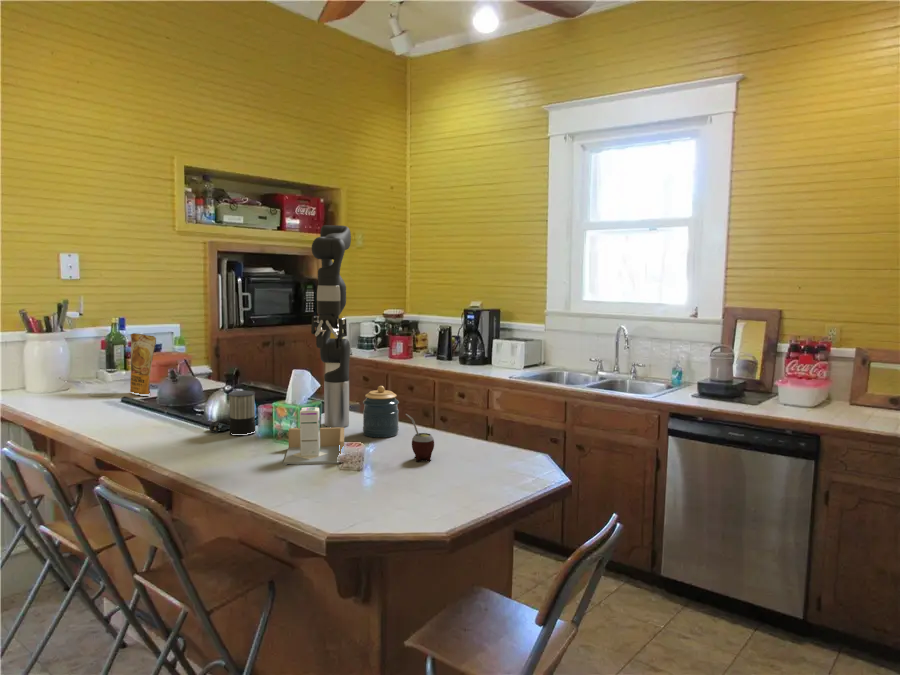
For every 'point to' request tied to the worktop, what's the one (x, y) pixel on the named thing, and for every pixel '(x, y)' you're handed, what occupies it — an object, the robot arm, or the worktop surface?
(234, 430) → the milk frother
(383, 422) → the canister
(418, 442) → the mate gourd
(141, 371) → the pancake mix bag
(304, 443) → the syrup box
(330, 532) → the worktop surface
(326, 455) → the corner arena
